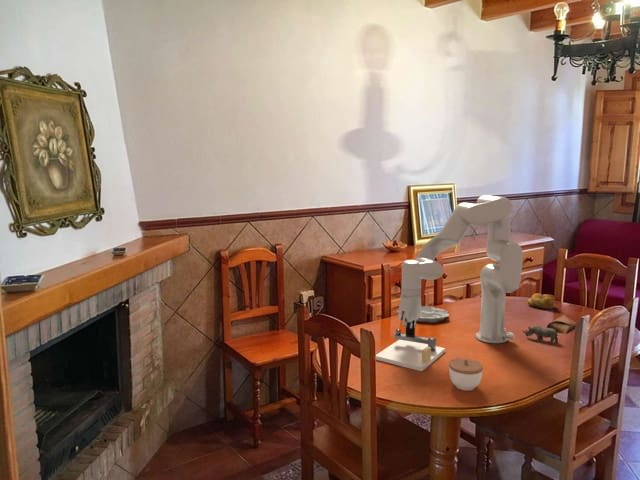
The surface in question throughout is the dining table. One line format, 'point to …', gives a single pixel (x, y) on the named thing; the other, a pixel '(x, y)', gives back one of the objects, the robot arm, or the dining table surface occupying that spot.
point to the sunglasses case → (562, 324)
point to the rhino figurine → (542, 333)
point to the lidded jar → (465, 373)
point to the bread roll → (542, 301)
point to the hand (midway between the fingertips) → (410, 336)
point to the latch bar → (416, 339)
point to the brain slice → (432, 314)
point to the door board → (410, 354)
